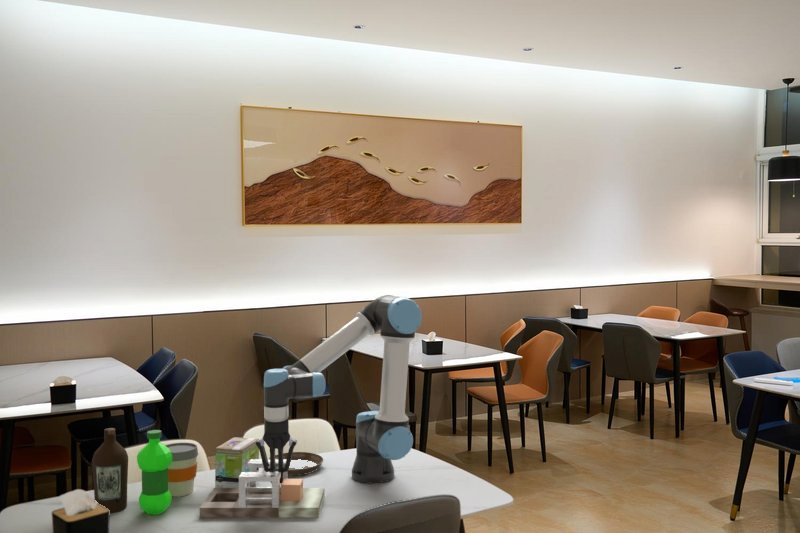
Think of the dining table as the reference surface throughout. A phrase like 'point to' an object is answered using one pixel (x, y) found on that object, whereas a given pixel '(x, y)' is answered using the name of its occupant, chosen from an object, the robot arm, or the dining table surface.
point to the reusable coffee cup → (182, 468)
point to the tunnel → (260, 477)
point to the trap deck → (260, 505)
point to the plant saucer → (303, 456)
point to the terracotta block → (291, 489)
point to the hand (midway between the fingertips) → (277, 493)
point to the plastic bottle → (154, 474)
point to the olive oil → (110, 473)
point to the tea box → (234, 461)
